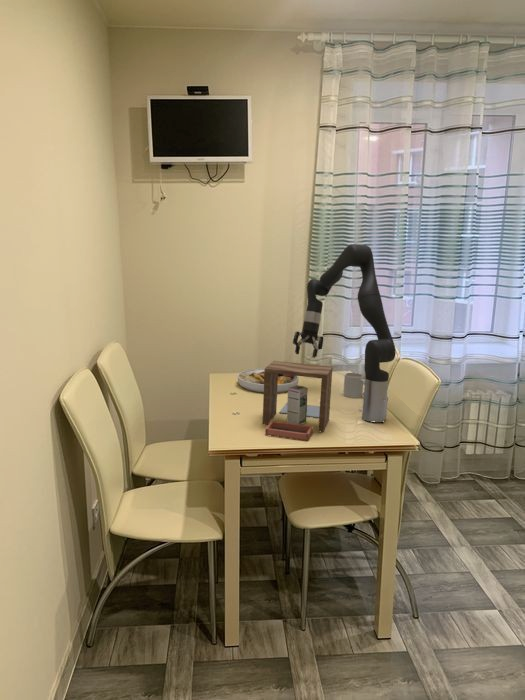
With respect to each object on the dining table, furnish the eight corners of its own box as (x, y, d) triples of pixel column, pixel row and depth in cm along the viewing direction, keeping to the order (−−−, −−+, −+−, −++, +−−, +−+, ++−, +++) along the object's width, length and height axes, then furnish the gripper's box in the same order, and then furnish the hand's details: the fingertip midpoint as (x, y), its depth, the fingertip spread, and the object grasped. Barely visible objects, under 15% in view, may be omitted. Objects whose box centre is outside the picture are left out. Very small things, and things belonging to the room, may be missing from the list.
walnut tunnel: (271, 413, 216) (273, 360, 211) (328, 420, 210) (332, 366, 205) (262, 424, 203) (264, 368, 198) (323, 432, 197) (327, 375, 192)
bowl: (270, 399, 236) (271, 382, 234) (224, 385, 256) (225, 369, 254) (310, 387, 258) (311, 371, 256) (265, 375, 277) (266, 360, 276)
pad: (286, 403, 229) (286, 402, 229) (327, 408, 225) (327, 407, 225) (279, 413, 216) (279, 412, 216) (322, 418, 211) (322, 417, 211)
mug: (341, 392, 249) (342, 372, 247) (360, 392, 250) (362, 372, 248) (347, 399, 239) (348, 378, 237) (367, 399, 240) (369, 378, 238)
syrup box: (298, 426, 202) (300, 390, 199) (286, 422, 206) (287, 387, 203) (306, 422, 207) (308, 387, 204) (294, 419, 210) (295, 384, 207)
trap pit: (271, 427, 200) (271, 420, 200) (312, 432, 196) (312, 426, 196) (265, 435, 192) (265, 428, 191) (307, 441, 188) (308, 434, 187)
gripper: (301, 318, 239) (294, 353, 238) (328, 324, 243) (322, 359, 243) (295, 319, 246) (288, 352, 245) (322, 325, 250) (316, 358, 250)
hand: (305, 355), depth 244 cm, fingers open, 8 cm apart
